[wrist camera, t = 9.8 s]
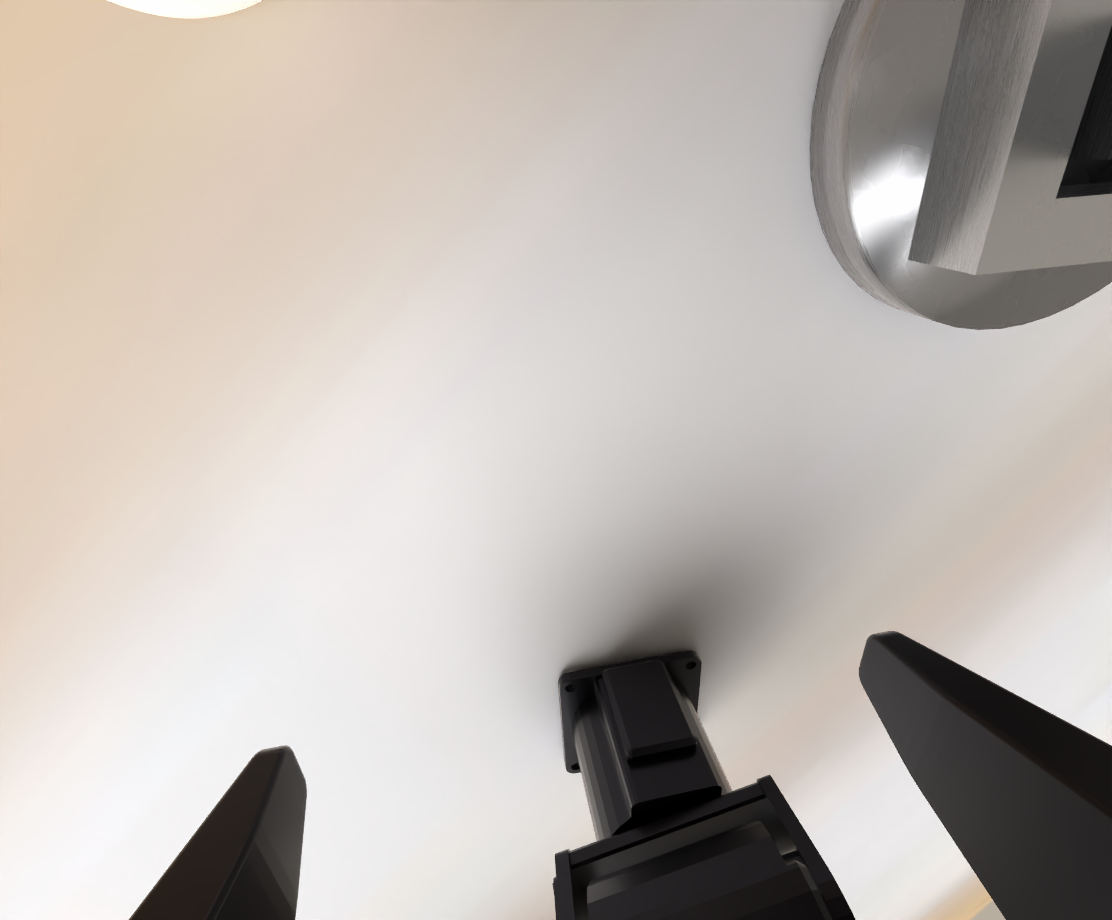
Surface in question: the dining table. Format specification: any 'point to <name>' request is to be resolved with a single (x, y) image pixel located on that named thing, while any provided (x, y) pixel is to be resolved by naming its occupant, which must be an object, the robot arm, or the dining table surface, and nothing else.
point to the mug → (187, 7)
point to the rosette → (964, 156)
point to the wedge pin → (1097, 114)
